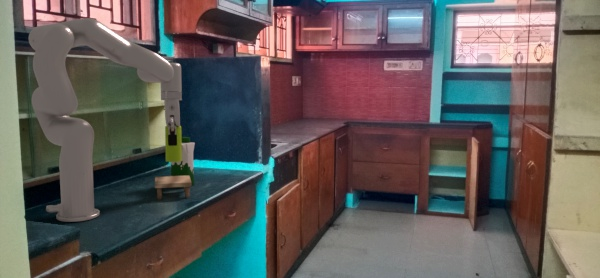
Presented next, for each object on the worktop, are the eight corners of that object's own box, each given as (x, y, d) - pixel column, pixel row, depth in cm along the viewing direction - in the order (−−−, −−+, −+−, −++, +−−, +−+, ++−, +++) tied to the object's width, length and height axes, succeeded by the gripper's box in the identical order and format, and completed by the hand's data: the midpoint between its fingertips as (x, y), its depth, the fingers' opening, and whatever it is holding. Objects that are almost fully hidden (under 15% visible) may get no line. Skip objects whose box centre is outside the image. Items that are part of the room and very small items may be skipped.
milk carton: (197, 184, 199) (196, 137, 197) (182, 189, 191) (181, 139, 189) (181, 182, 203) (180, 136, 201) (166, 186, 195) (165, 138, 193)
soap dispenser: (170, 159, 184) (170, 107, 182) (184, 160, 181) (184, 107, 179) (160, 161, 179) (159, 107, 177) (174, 162, 176) (173, 108, 174)
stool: (155, 200, 174) (155, 184, 173) (155, 191, 186) (155, 176, 185) (191, 198, 177) (191, 182, 177) (189, 190, 190) (189, 175, 189)
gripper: (182, 97, 170) (183, 147, 172) (180, 95, 186) (181, 140, 189) (161, 97, 168) (162, 147, 170) (160, 95, 184) (161, 141, 186)
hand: (172, 143), depth 179 cm, fingers closed on soap dispenser, 6 cm apart
